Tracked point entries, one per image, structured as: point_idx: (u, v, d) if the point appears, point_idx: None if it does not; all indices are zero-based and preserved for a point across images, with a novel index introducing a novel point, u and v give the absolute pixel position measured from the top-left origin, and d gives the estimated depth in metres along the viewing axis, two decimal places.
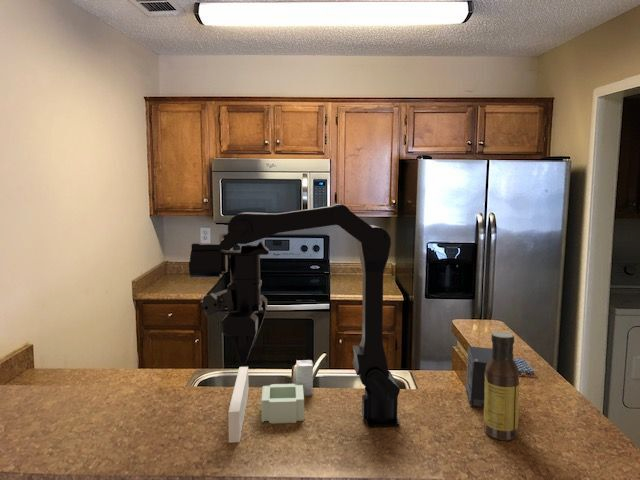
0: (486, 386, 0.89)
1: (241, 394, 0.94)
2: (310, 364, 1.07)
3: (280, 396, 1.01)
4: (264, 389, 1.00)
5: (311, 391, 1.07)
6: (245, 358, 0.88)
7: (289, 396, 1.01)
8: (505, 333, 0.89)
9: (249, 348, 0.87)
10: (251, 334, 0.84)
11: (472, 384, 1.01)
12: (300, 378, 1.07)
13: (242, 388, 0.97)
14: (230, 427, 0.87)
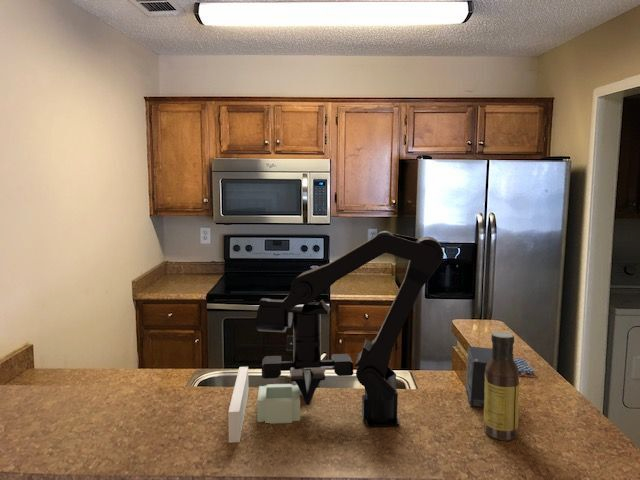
0: (486, 386, 0.89)
1: (241, 394, 0.94)
2: None
3: (276, 396, 1.01)
4: (260, 389, 1.00)
5: None
6: (304, 400, 0.98)
7: (285, 396, 1.01)
8: (505, 333, 0.89)
9: (302, 393, 0.97)
10: (290, 379, 0.96)
11: (472, 384, 1.01)
12: None
13: (242, 388, 0.97)
14: (230, 427, 0.87)
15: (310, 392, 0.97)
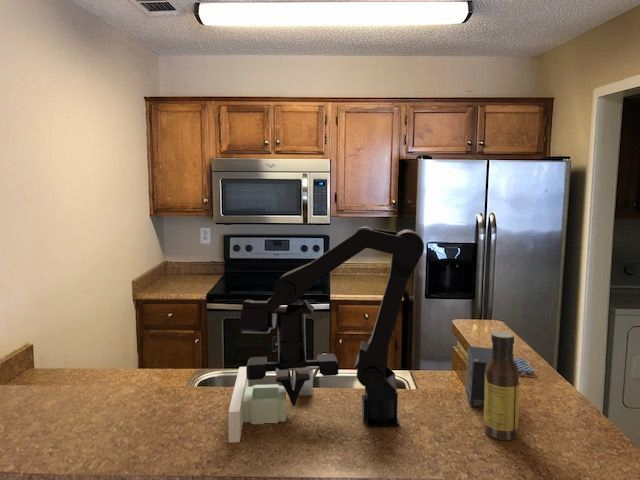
0: (486, 386, 0.89)
1: (241, 394, 0.94)
2: None
3: (263, 397, 1.01)
4: (247, 390, 0.99)
5: (311, 391, 1.07)
6: (291, 401, 0.98)
7: (272, 397, 1.01)
8: (505, 333, 0.89)
9: (288, 393, 0.97)
10: (276, 380, 0.96)
11: (472, 384, 1.01)
12: None
13: (242, 388, 0.97)
14: (230, 427, 0.87)
15: (295, 392, 0.97)
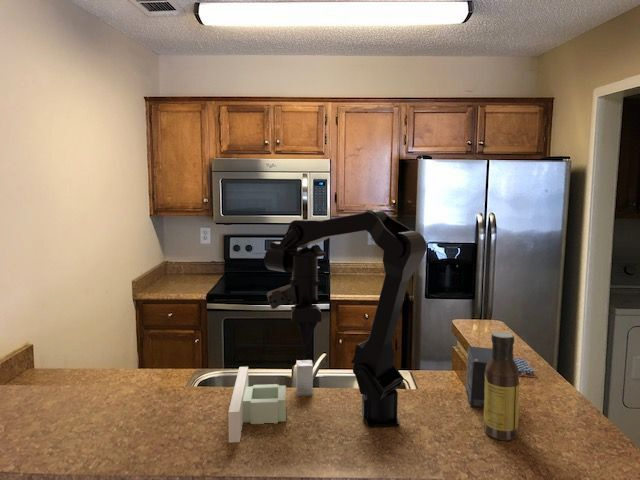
0: (486, 386, 0.89)
1: (241, 394, 0.94)
2: (310, 364, 1.07)
3: (263, 397, 1.01)
4: (246, 389, 0.99)
5: (311, 391, 1.07)
6: (307, 340, 1.05)
7: (272, 397, 1.01)
8: (505, 333, 0.89)
9: (311, 332, 1.04)
10: None
11: (472, 384, 1.01)
12: (300, 378, 1.07)
13: (242, 388, 0.97)
14: (230, 427, 0.87)
15: None
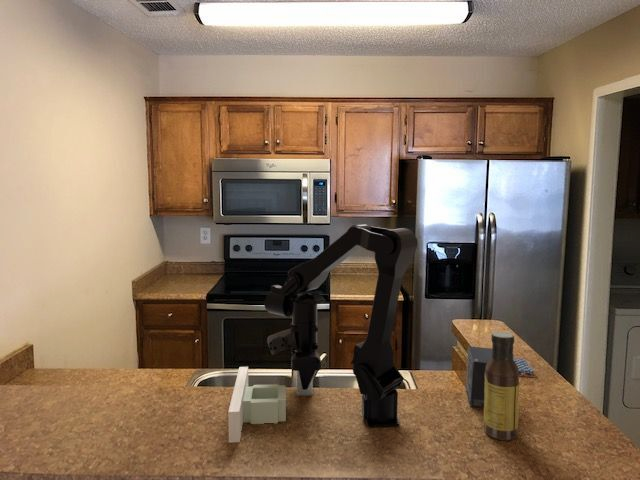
0: (486, 386, 0.89)
1: (241, 394, 0.94)
2: None
3: (263, 397, 1.01)
4: (246, 389, 0.99)
5: (311, 391, 1.07)
6: (307, 385, 1.06)
7: (272, 397, 1.01)
8: (505, 333, 0.89)
9: (311, 377, 1.06)
10: None
11: (472, 384, 1.01)
12: None
13: (242, 388, 0.97)
14: (230, 427, 0.87)
15: None
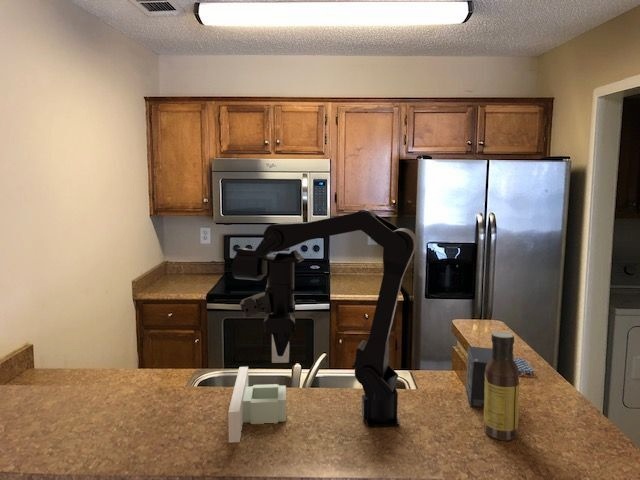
0: (486, 386, 0.89)
1: (241, 394, 0.94)
2: None
3: (263, 397, 1.01)
4: (246, 389, 0.99)
5: (287, 358, 1.00)
6: (282, 351, 0.99)
7: (272, 397, 1.01)
8: (505, 333, 0.89)
9: (287, 342, 0.98)
10: None
11: (472, 384, 1.01)
12: None
13: (242, 388, 0.97)
14: (230, 427, 0.87)
15: None
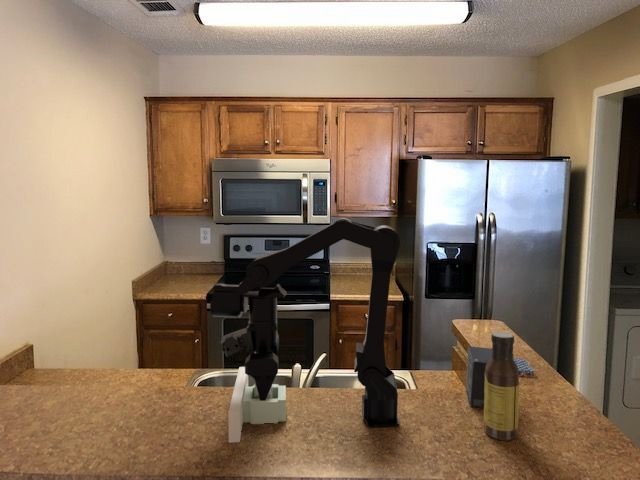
0: (486, 386, 0.89)
1: (241, 394, 0.94)
2: None
3: None
4: (246, 389, 0.99)
5: None
6: (265, 395, 0.93)
7: None
8: (505, 333, 0.89)
9: (269, 386, 0.92)
10: (273, 374, 0.90)
11: (472, 384, 1.01)
12: None
13: (242, 388, 0.97)
14: (230, 427, 0.87)
15: None
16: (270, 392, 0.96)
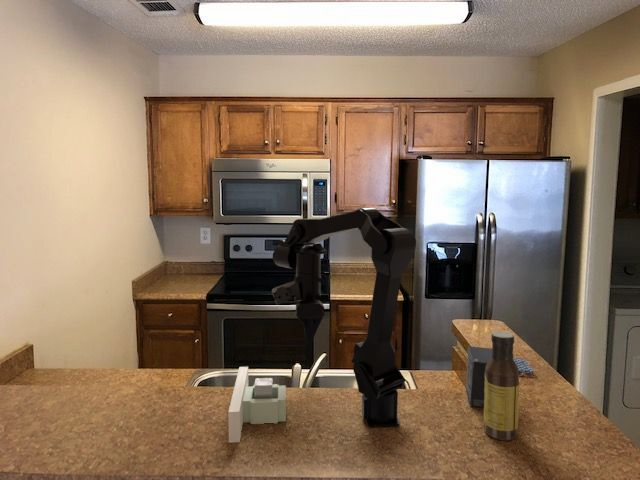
0: (486, 386, 0.89)
1: (241, 394, 0.94)
2: (269, 383, 0.97)
3: None
4: (246, 389, 0.99)
5: None
6: (311, 338, 1.07)
7: None
8: (505, 333, 0.89)
9: (315, 330, 1.06)
10: (320, 318, 1.03)
11: (472, 384, 1.01)
12: None
13: (242, 388, 0.97)
14: (230, 427, 0.87)
15: None
16: (270, 392, 0.96)
